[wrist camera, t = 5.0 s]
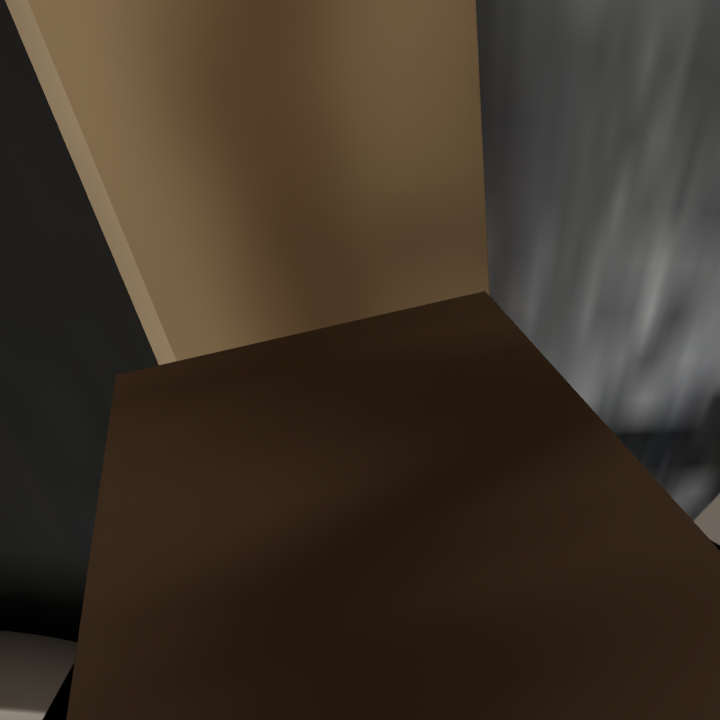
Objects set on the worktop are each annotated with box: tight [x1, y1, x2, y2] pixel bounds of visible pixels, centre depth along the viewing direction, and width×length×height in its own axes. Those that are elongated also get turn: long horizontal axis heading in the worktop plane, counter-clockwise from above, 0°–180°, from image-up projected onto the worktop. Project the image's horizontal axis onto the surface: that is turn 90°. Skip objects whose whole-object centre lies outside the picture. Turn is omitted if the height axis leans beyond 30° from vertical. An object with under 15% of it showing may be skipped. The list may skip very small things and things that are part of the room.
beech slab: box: [5, 0, 176, 365], centre depth 19 cm, size 10×18×3 cm, turn 9°
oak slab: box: [28, 0, 490, 361], centre depth 16 cm, size 8×16×3 cm, turn 10°
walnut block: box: [66, 291, 720, 720], centre depth 7 cm, size 5×5×6 cm
